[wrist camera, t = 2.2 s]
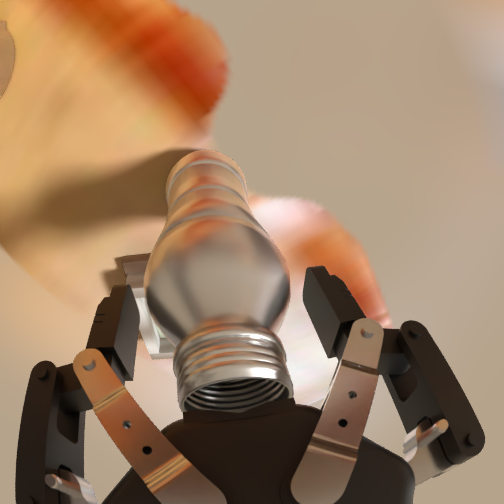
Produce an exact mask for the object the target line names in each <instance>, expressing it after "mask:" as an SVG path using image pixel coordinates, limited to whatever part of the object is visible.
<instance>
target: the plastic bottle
mask: <svg viewBox="0 0 504 504" xmlns="http://www.w3.org/2000/svg"><path fill="white" fill-rule="evenodd" d="M166 199H167V204H168V216H167V219H166V222H165V226H164V229H163V230H162V232H161V234H160V236H159V238H158V240H157V242H156V244H155V247H154V249H153V251H152V253H151V255H150V258H149V261H148V264H147V267H146V271H145V275H144V292H145V297H146V301H147V305H148V308H149V312H150V315H151V317H152V319H153V320H154V322H155V324H156V325H157V327H158V328H159V329H160V331H161V332H162V333H163V334H164V336H165V337H166V338H167V339H168V340H169V342H170V343H171V344H172V345H173V346H174V347H175V351H174V353H173V370H174V374H175V376H176V378H177V393H178V402H179V407H180V409H181V411H182V412H186V411H201V410H216V411H224V412H234V413H241V412H244V411H247V410H249V409H252V408H254V407H257V406H259V405H262V404H264V403H267V402H272V401H278V400H283V399H288V398H293V395H294V392H293V384H292V381H291V378H290V375H289V372H288V369H287V366H286V353H285V350H284V347H283V344H282V342H281V340H280V339H279V338H278V336H277V333H278V331H279V329H280V327H281V325H282V323H283V320H284V318H285V315H286V312H287V309H288V307H289V302H290V274H289V269H288V266H287V263H286V260H285V258H284V257H283V255H282V254H281V252H280V250H279V249H278V247H277V246H276V244H275V242H274V241H273V239H272V238H271V237H270V236H269V235H268V234H267V232H266V231H265V230H264V229H263V227H262V226H261V225H260V224H259V223H258V221H257V220H256V219H255V217H254V215H253V213H252V212H251V210H250V208H249V206H248V202H247V187H246V181H245V177H244V175H243V172H242V171H241V169H240V168H239V166H238V165H237V164H236V163H235V162H234V161H233V160H232V159H230V158H229V157H227V156H226V155H224V154H222V153H219V152H217V151H212V150H199V151H194V152H192V153H190V154H187V155H186V156H185V157H183V158H182V159H180V160H179V161H178V162H177V163H176V164H175V165H174V166H173V168H172V170H171V171H170V173H169V175H168V178H167V182H166Z"/></svg>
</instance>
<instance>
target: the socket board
mask: <svg viewBox="0 0 504 504" xmlns="http://www.w3.org/2000/svg"><path fill="white" fill-rule="evenodd" d="M150 255H151V253H150V254H141V255H131V256H124V258H123V261H122V265H123V268H124V272H125V275H126V278H127V279H126V283H125V285H127V284H129V285H130V286H131V288H132V291H133V294H134V297H135V300H136V303H137V306H138V309H139V313H140V325H139V330H140V333H141V335H142V338H143V340H144V342H145V345H146V347H147V349H148V351H149V354H150V356H151V358H152V360H154V359H170V358H173V353H174V351H175V347H174V346H173V345H172V344H171V343H170V342H169V340H168V339H167V338H166V337H165V336H164V334H163V333H162V332H161V331H160V329H159V328H158V327H157V325H156V324H155V322H154V320H153V319H152V317H151V315H150V312H149V308H148V305H147V301H146V297H145V292H144V275H145V271H146V267H147V264H148V261H149V258H150Z"/></svg>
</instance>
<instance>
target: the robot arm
mask: <svg viewBox="0 0 504 504" xmlns="http://www.w3.org/2000/svg"><path fill="white" fill-rule="evenodd" d="M14 59H15V47H14V41H13V39H12V36H11V35H10V34H9V32H8V31H7V30H6V21H2V20H0V98H1V96H2V95H3V93H4V91H5V89H6V87H7V85H8V82H9V80H10V77H11V74H12V70H13V66H14ZM303 302H304V305H305V308H306V310H307V312H308V314H309V316H310V319H311V321H312V323H313V325H314V328H315V330H316V332H317V334H318V337H319V339H320V341H321V343H322V346H323V348H324V350H325V352H326V355H327V357H328V358H332V357H337V359H338V364H337V366H336V369H335V372H334V375H333V377H332V380H331V383H330V385H329V388H328V390H327V393H326V395H325V398H324V400H323V402H322V405H321V407H320V409H317V408H315V407H312V406H307V405H301V404H295V401H294V397H293V398H288V399H283V400H278V401H272V402H267V403H264V404H262V405H259V406H257V407H254V408H252V409H249V410H247V411H244V412H241V413H234V412H224V411H216V410H201V411H186V412H183V419H180V420H178V421H175V422H173V423H171V424H170V425H168V426H167V427H165V428H164V429H163V430H161V431H160V430H159V429H158V428H157V427H156V426H155V425H154V423H153V422H152V421H151V420H150V419H149V417H148V416H147V415H146V414H145V413H144V411H143V410H142V409H141V408H140V407H139V405H138V404H137V403H136V401H135V400H134V399H133V397H132V396H131V395H130V393H129V392H128V391H127V389H126V388H125V387H124V386H125V381H133V375H134V365H135V356H136V348H137V340H138V332H139V325H140V313H139V309H138V306H137V303H136V300H135V297H134V294H133V291H132V288H131V286H130V285H129V284H127V285H115V286H113V288H112V292H111V295H110V297H105V298H104V299H103V300H102V301H101V303H100V304H99V305H98V308H97V311H96V314H95V315H96V316H95V317H94V321H93V324H92V328H91V331H90V335H89V338H88V342H87V346H86V349H85V350H83V351H81V352H80V353H79V354H78V355H77V356H76V357H75V359H74V361H73V363H71V364H68V365H64V366H61V367H56V366H55V365H54V364H53V363H52V362H50V361H42V362H39V363H38V364H37V365H36V366H34V368H33V369H32V371H31V375H30V379H29V383H28V387H27V391H26V396H25V401H24V406H23V412H22V418H21V424H20V431H19V439H18V448H17V459H16V482H15V486H16V487H15V488H16V489H15V492H16V496H15V497H16V504H99V503H98V501H97V499H96V497H95V493H94V490H93V487H92V486H91V484H90V483H89V482H88V481H87V480H85V479H84V429H85V412H86V410H90V409H93V410H94V412H95V414H96V416H97V417H98V419H99V421H100V422H101V424H102V425H103V427H104V428H105V430H106V431H107V433H108V434H109V436H110V437H111V439H112V440H113V442H114V443H115V445H116V446H117V447H118V449H119V450H120V451H121V453H122V454H123V455H124V457H125V458H126V459H127V461H128V462H129V463H130V465H131V466H132V467H131V468H130V470H129V471H128V472H127V473H126V474H125V476H124V477H123V478H122V479H121V481H120V482H119V483H118V484H117V485H116V487H115V488H114V489H113V490H112V491H111V493H110V494H109V495H108V496H107V498H105V500H104V501H103V502H102V504H413V495H414V490H415V486H417V485H418V484H421V483H423V482H424V481H426V480H428V479H430V478H433V477H436V476H439V475H441V474H443V473H445V472H447V471H449V470H451V469H453V468H455V467H456V466H458V465H460V464H462V463H464V462H465V461H467V460H469V459H471V458H472V457H474V456H476V455H477V454H479V453H480V452H481V450H482V449H483V447H484V443H485V435H484V432H483V429H482V427H481V425H480V423H479V421H478V419H477V417H476V415H475V413H474V411H473V409H472V407H471V405H470V403H469V401H468V399H467V397H466V395H465V393H464V391H463V389H462V388H461V386H460V384H459V382H458V380H457V379H456V377H455V375H454V373H453V371H452V370H451V368H450V366H449V365H448V363H447V361H446V360H445V358H444V356H443V355H442V353H441V351H440V350H439V348H438V346H437V345H436V344H435V342H434V340H433V338H432V337H431V335H430V334H429V332H428V331H427V329H426V328H425V327H424V326H423V325H422V324H421V323H419V322H417V321H411V320H410V321H406V322H404V323H403V324H402V325H401V328H400V329H385V328H382V326H381V325H380V324H379V323H378V322H376V321H374V320H372V319H368V318H366V316H365V315H364V313H363V311H362V310H361V308H360V307H359V305H358V304H357V302H356V300H355V299H354V297H352V294H351V293H350V291H349V290H348V288H347V286H346V285H345V283H344V282H343V281H342V280H341V279H339V278H338V277H337V276H335V275H331V276H330V274H329V273H328V271H327V270H326V268H325V267H324V266H315V267H308V268H307V269H306V275H305V281H304V288H303ZM379 375H382V376H383V379H384V381H385V383H386V385H387V388H388V390H389V392H390V394H391V397H392V399H393V401H394V404H395V406H396V408H397V410H398V413H399V415H400V418H401V420H402V423H403V425H404V428H405V430H406V433H407V436H406V437H405V439H404V443H403V447H404V450H403V452H404V454H405V455H404V459H403V458H402V457H400V456H398V455H396V454H394V453H392V452H391V451H389V450H387V449H385V448H383V447H381V446H380V445H378V444H376V443H374V442H373V441H371V440H369V439H368V438H366V437H364V436H363V433H364V429H365V426H366V423H367V419H368V416H369V413H370V409H371V405H372V401H373V398H374V394H375V390H376V386H377V382H378V377H379Z"/></svg>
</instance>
